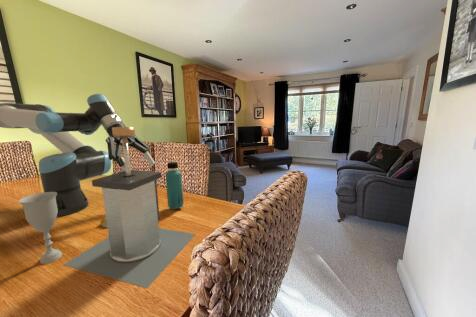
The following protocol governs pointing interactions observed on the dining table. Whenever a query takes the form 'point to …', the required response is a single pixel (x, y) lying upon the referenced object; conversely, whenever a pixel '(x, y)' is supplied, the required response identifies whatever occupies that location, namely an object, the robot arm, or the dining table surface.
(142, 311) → the dining table surface
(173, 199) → the beverage bottle
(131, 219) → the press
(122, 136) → the plunger
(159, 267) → the slate mat
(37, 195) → the chalice
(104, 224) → the bread roll
